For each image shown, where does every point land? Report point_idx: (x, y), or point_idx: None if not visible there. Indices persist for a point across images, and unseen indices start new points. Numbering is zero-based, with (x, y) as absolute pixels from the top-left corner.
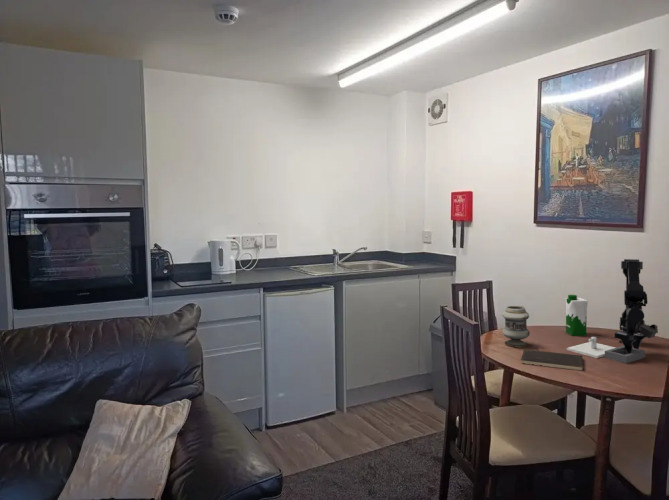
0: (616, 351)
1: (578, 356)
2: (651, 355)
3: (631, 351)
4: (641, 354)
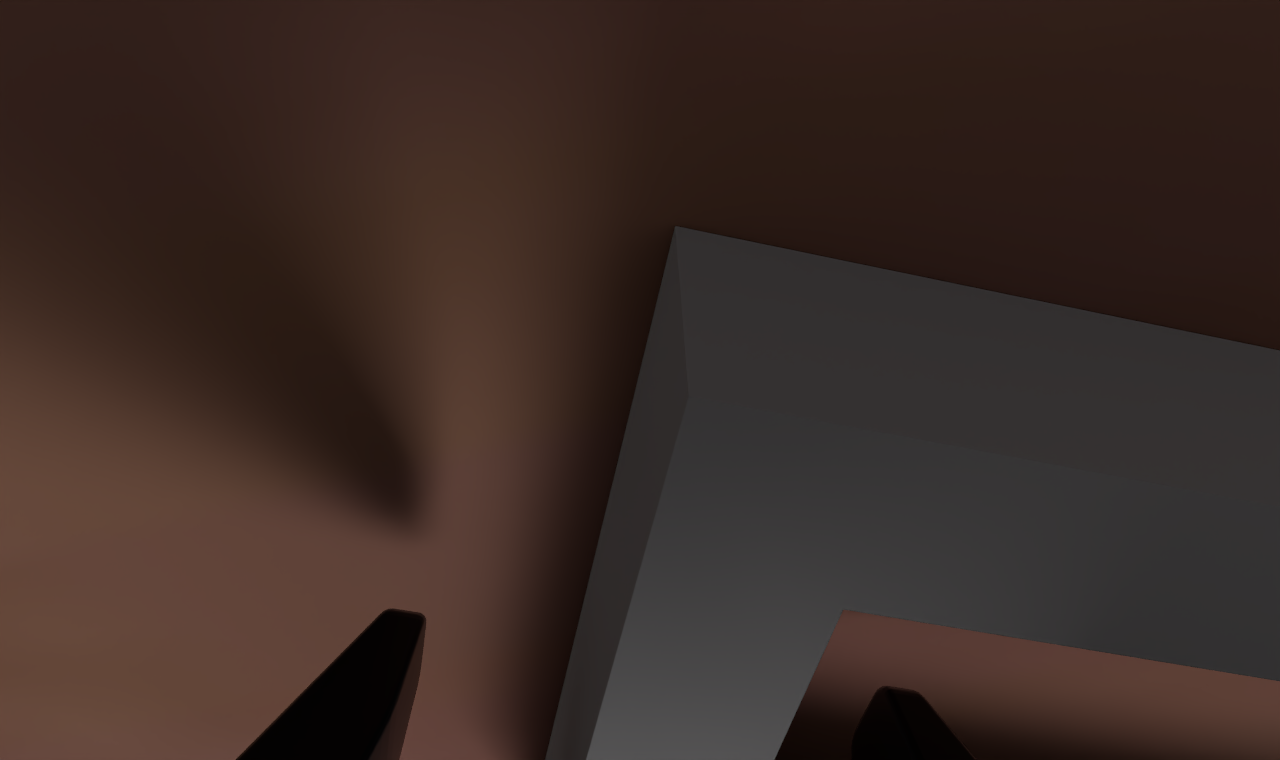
0: None
1: None
2: (61, 105)
3: (918, 752)
4: (1021, 382)
